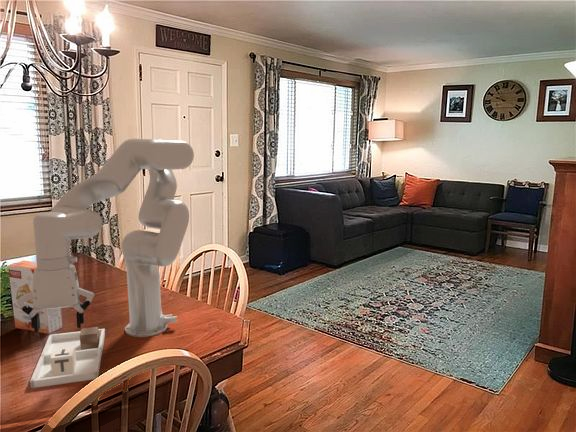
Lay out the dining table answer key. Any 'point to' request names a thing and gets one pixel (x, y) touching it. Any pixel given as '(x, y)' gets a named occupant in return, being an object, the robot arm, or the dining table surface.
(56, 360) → the letter cube
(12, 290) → the cracker box
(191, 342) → the dining table surface
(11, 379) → the dining table surface
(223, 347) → the dining table surface
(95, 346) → the walnut block
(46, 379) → the organizer
